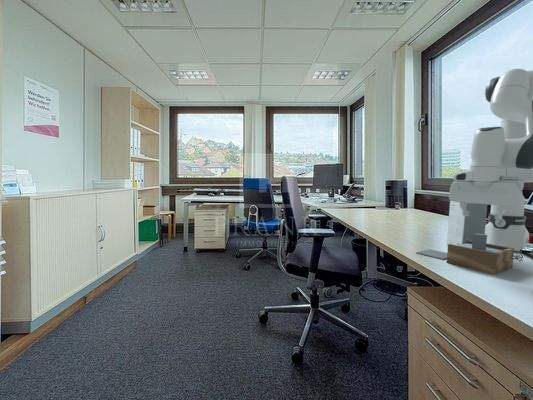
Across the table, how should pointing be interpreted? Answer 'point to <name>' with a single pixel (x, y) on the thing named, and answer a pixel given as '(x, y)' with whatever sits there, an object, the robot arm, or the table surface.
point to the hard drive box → (465, 222)
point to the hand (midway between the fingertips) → (481, 217)
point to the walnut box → (481, 258)
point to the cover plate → (480, 243)
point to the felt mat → (434, 254)
